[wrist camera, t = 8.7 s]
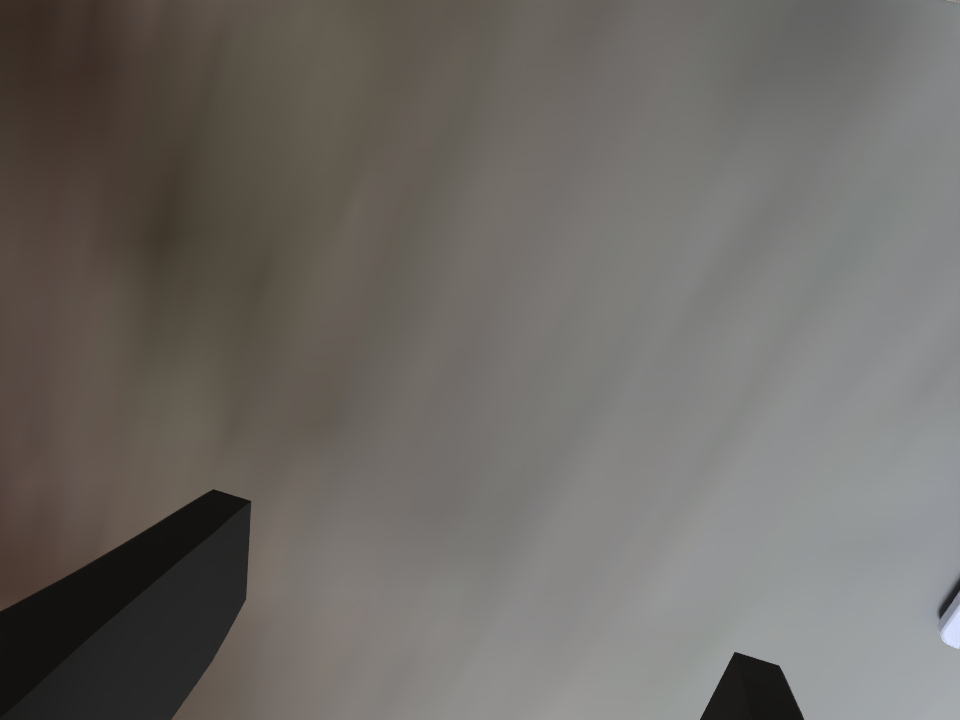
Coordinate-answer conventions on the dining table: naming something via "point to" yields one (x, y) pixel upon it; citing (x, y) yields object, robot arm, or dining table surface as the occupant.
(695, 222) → the dining table surface
